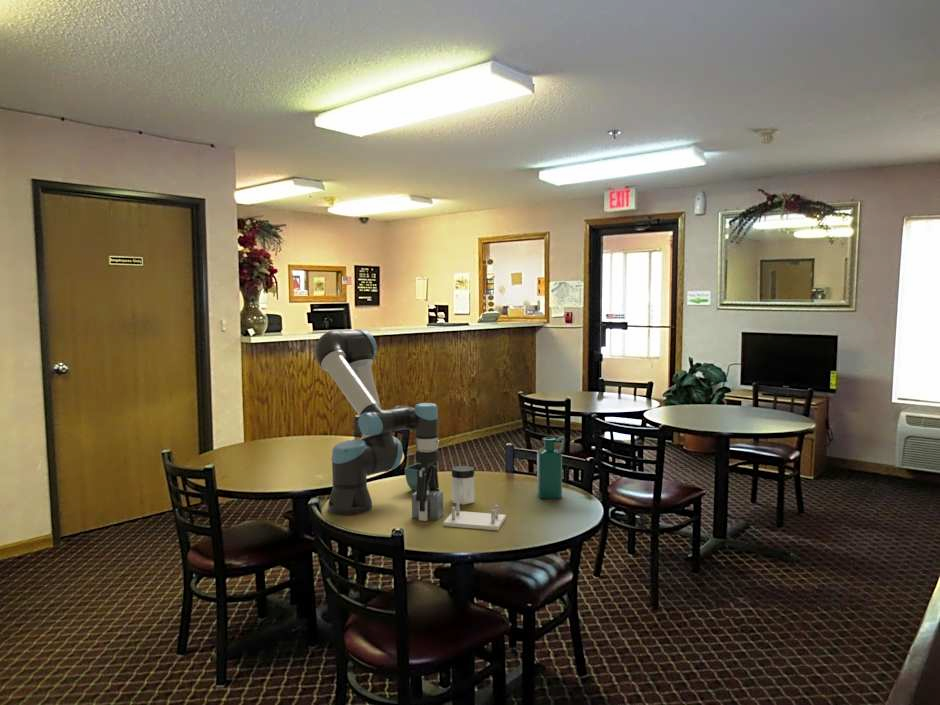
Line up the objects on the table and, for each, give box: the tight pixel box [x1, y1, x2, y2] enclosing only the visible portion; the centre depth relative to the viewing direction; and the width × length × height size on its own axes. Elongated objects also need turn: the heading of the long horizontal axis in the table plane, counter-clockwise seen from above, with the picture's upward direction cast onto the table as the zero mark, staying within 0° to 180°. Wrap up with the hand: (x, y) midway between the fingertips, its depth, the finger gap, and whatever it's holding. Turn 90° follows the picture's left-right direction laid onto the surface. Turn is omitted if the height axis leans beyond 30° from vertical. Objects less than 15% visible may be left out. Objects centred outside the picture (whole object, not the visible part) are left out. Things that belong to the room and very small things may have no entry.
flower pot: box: [404, 462, 429, 492], centre depth 248 cm, size 9×9×9 cm
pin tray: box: [442, 502, 507, 531], centre depth 211 cm, size 18×12×5 cm, turn 75°
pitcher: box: [536, 435, 567, 500], centre depth 239 cm, size 10×8×22 cm
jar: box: [451, 465, 475, 506], centre depth 233 cm, size 9×8×12 cm
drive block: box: [411, 489, 444, 521], centre depth 217 cm, size 9×6×8 cm, turn 75°
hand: (428, 515), depth 217 cm, fingers open, 9 cm apart
